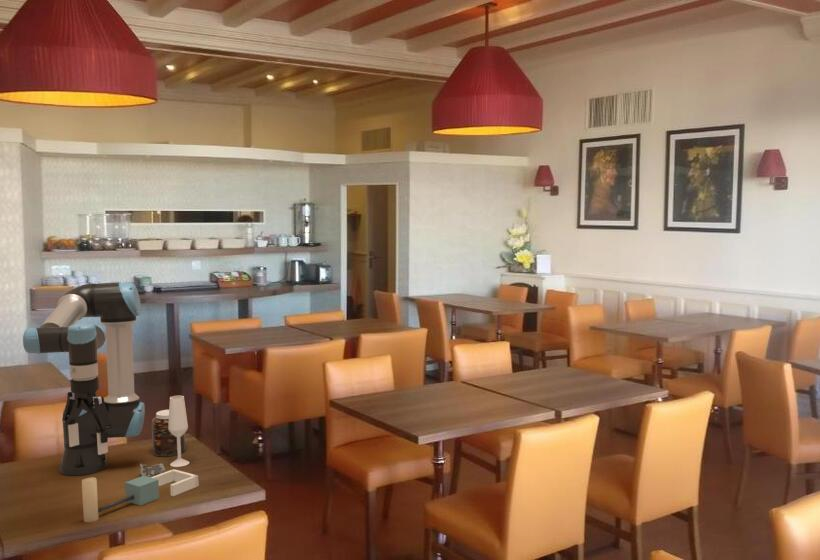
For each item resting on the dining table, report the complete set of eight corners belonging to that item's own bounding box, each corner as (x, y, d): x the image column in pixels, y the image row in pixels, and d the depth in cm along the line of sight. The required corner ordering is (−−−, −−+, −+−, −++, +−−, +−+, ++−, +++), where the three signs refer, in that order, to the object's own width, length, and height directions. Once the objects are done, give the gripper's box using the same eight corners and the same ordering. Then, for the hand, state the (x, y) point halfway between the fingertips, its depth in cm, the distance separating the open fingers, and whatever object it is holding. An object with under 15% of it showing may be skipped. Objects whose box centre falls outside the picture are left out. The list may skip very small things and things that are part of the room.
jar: (191, 451, 289) (190, 411, 288) (162, 459, 281) (160, 418, 279) (175, 444, 297) (173, 406, 296) (146, 452, 289) (144, 412, 288)
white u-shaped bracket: (148, 489, 251) (147, 478, 251) (173, 479, 260) (173, 469, 260) (173, 496, 245) (172, 485, 244) (198, 486, 253) (198, 475, 253)
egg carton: (139, 474, 266) (139, 462, 266) (162, 471, 269) (162, 459, 269) (142, 484, 256) (142, 472, 256) (166, 480, 259) (166, 468, 259)
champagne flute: (166, 463, 276) (163, 397, 274) (184, 459, 280) (181, 393, 278) (175, 468, 271) (172, 400, 269) (192, 463, 275) (190, 397, 273)
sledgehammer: (77, 519, 227) (75, 479, 226) (144, 494, 247) (142, 457, 246) (92, 524, 224) (90, 484, 222) (159, 498, 243) (157, 461, 242)
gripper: (46, 375, 227) (51, 445, 230) (99, 385, 214) (103, 460, 216) (70, 370, 234) (74, 439, 236) (123, 380, 220) (126, 453, 222)
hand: (88, 449), depth 226 cm, fingers open, 13 cm apart
